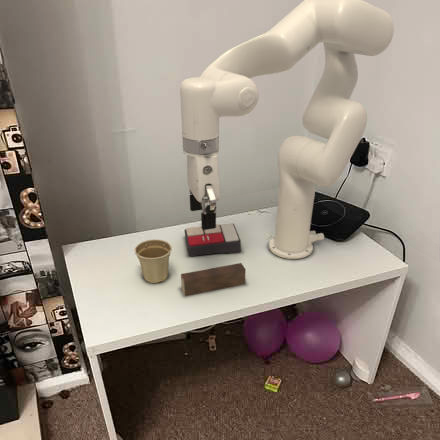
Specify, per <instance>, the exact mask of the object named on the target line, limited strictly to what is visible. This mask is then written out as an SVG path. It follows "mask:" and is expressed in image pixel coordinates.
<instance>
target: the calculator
mask: <svg viewBox="0 0 440 440" xmlns="http://www.w3.org/2000/svg"><path fill="white" fill-rule="evenodd" d="M184 237H185V242H186V248H187V254H188V257H196V256H204V255H213V254H219V253H220V254H221V253H226V254H234V253H240V252H241V251H242V250H241V249H242V245H241V244H242V243H241V238H240V235H239V233H238V231H237V228H236V225H235V223H233V222H229V223H221V224H218V223H216V228H214V229H207V230H202V226H201V225H199V226H191V227H186V228H185V229H184Z"/></svg>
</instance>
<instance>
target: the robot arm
mask: <svg viewBox="0 0 440 440" xmlns="http://www.w3.org/2000/svg"><path fill="white" fill-rule="evenodd" d="M394 28H395V25H394V20H393V18H392V16H391V14H389V13H388V11H386V10H384V9H382V8H380V7H377V6H376V5H373V4H371V3H370V2H367V1H364V0H302V1H301V2H300V3H299V4H298V5H297V6H296V7H294V8H293V9H292V10H291V11H289V13H287V14H286V15H285V16H284V17H283V18H282V19H280V20H279V21H278V22H277V23H276V24H275V25H274V26H273V27H272V28H270V29H269V30H268V31H266V32H264V33H262V34H260V35H258V36H255V37H253V38H250V39H249V40H247V41H245V42H241V43H240V44H238V45H236V46H233V47H232V48H230V49H228V50H227V51H225V52H224V53H222V54H221V55H219V56H218V57H217V58H216V59H215V60H214V61H213V62H212V63H211V64H209V65H208V66H207V67H206V68H205V69H204V70H203V72H202V73H201V74H200V76H197V77H196V76H195V77H188V78H186V79H184V80H182V82H181V83H180V87H179V90H180V91H179V94H180V97H179V98H180V114H181V116H180V117H181V137H182V153H183V154H184V155H186V172H187V173H186V175H187V185H188V188H189V210H190V212H197V211H202V212H200V218H201V219H200V222H201V223H200V224H201V225H200V226H202V230H207V229H214V228H216V224H217V201H220V197H221V190H220V189H221V188H220V187H221V186H220V171H219V160H218V154H219V153H220V118H223V117H234V118H235V117H236V118H237V117H243V116H245V115H247V114H250V113H252V111H253V110H254V109H255V108H256V106H257V105H258V102H259V96H260V95H259V89H258V86H257V85H256V83H255V82H254V81H253V80H252V78H255V77H260V76H266V75H273V74H278V73H282V72H286V71H289V70H290V69H292V68H293V67H294V66H295V65H296V64H297V63H299V61H301V60H302V59H303V58H304V57H305V56H306V55H308V53H310V52H311V51H312V50H313V49H314V48H315V47H316V46H317V45H319V44H320V43H323V51H324V61H325V62H324V68H323V72H322V73H321V77H320V79H319V81H318V83H317V85H316V87H315V89H314V91H313V93H312V95H311V97H310V100H308V103H307V105H306V108H305V110H304V112H303V115H302V119H301V121H302V126H303V128H304V129H305V130H306V131H307V132H309V133H310V134H313V135H315V136H318V137H321V138H323V139H327V142H325V143H324V142H322V141H319V140H317V139H313V138H311V137H309V136H304V135H298V134H297V135H291V136H289V137H287V138H286V139H284V140H283V141H282V143H281V144H280V145H279V148H278V151H277V167H278V175H279V178H278V181H279V183H278V196H277V197H278V198H277V206H276V207H277V209H276V221H275V231H274V232H275V233H274V236H273V237H272V238H270V240H269V242H268V249H269V250H270V252H271V253H272V254H274V255H275V256H277V257H280V258H283V259H288V260H297V259H304V258H306V257H308V256H309V255H311V254H312V252H313V250H314V245H313V243H314V242H316V241H323V240H324V239H325V235H324V233H323V232H320V233H316V230H311V225H312V224H311V223H312V216H313V210H314V202H315V196H316V186H315V185H317V186H319V187H323V188H327V187H330V186H333V185H334V184H335V183H337V181H338V180H339V179H340V178H341V176H342V175H343V173H344V171H345V169H346V168H347V166H348V164H349V162H350V160H351V158H352V156H353V154H354V153H355V151H356V149H357V147H358V145H359V143H360V142H361V139H362V137H363V135H364V133H365V130H366V127H367V122H368V114H367V113H368V112H367V109H366V108H365V106H364V105H363V104H361V103H360V102H358V101H357V100H352V99H351V97H352V94H353V92H354V90H355V88H356V86H357V83H358V76H359V71H358V64H357V61H356V60H357V59H356V56H355V55H361V56H367V57H368V56H369V57H375V56H378V55H381V54H382V53H383V52H385V51H386V49H388V47H389V46H390V44H391V42H392V40H393V37H394V32H395V29H394ZM206 204H207V205H206Z"/></svg>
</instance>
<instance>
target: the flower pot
mask: <svg viewBox="0 0 440 440" xmlns="http://www.w3.org/2000/svg"><path fill="white" fill-rule="evenodd" d="M133 251H134V255H136V257H137V260H138V261H139V264H140V268H141V272H142V275H143V279H144V280H145V281H146V282H148V283H151V284H159V283H160V282H164V281H166V279H167V278H168V277H169V264H170V256H171V253H172V251H173V246H172V244H171V243H169V242H168V241H166V240H162V239H147V240H143V241H141V242H139V243H138V244H136V246H135V247H134V250H133Z"/></svg>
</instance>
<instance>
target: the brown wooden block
mask: <svg viewBox="0 0 440 440" xmlns="http://www.w3.org/2000/svg"><path fill="white" fill-rule="evenodd" d="M246 273H247V272H246V268H245V266H244V265H243V263H242V262H238V263H233V264H228V265H222V266H217V267H211V268H207V269H206V268H205V269H200V270H194V271H191V272H185V273H181V274H180V282H181V284H180V285H181V290H182V293H183V295H184V296H185V297H187V296H193V295H198V294H202V293H206V292H207V293H208V292H212V291H217V290H222V289H227V288H232V287H237V286H243V285H246Z"/></svg>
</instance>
